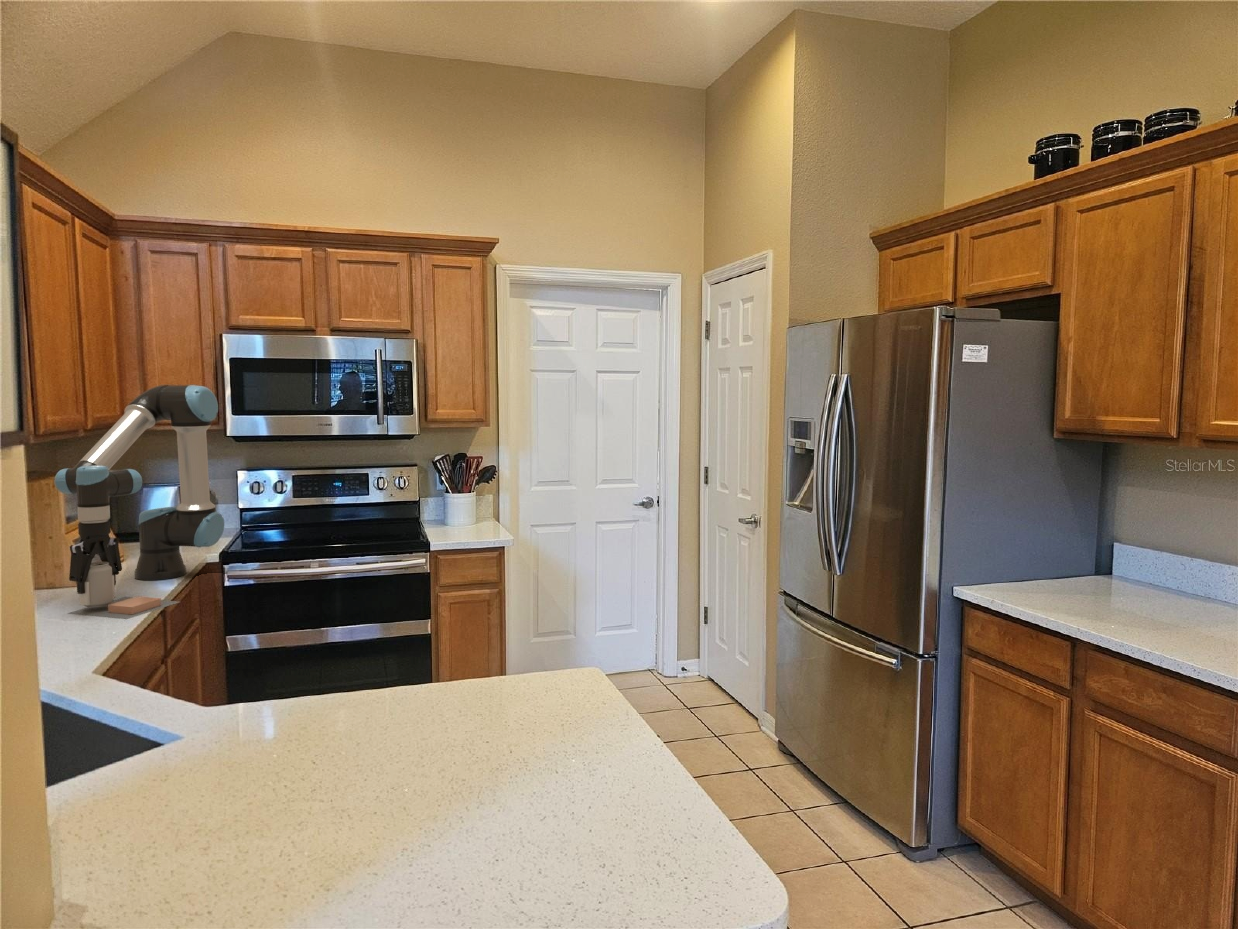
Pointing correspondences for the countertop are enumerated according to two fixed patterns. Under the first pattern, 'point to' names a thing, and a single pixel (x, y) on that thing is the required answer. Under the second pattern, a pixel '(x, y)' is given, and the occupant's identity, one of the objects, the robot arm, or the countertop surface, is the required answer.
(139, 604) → the tile
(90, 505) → the robot arm
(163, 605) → the mat
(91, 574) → the can
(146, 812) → the countertop surface
